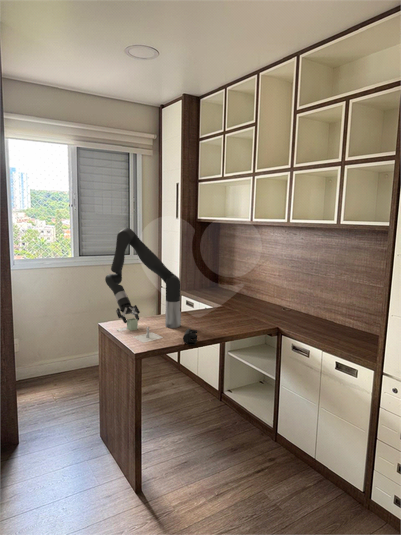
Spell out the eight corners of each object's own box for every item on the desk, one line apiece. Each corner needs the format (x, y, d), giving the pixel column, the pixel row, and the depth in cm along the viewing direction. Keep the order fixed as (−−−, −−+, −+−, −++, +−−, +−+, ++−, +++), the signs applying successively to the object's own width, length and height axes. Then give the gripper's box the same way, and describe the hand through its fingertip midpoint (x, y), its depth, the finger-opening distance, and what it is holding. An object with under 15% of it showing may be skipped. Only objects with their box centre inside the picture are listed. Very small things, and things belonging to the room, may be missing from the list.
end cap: (185, 339, 214) (185, 327, 213) (197, 339, 213) (197, 328, 212) (182, 344, 204) (182, 333, 203) (195, 345, 203) (195, 334, 202)
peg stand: (152, 334, 220) (152, 322, 219) (163, 340, 211) (163, 327, 210) (131, 339, 210) (131, 327, 209) (143, 345, 202) (143, 332, 200)
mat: (136, 326, 235) (136, 325, 235) (148, 331, 225) (148, 330, 225) (116, 330, 226) (116, 329, 226) (128, 336, 216) (128, 335, 215)
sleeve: (133, 328, 229) (133, 317, 228) (137, 330, 225) (137, 319, 224) (126, 330, 225) (126, 319, 224) (130, 331, 222) (130, 320, 221)
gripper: (114, 298, 224) (124, 320, 217) (134, 295, 234) (144, 316, 227) (110, 304, 229) (119, 326, 222) (130, 301, 238) (139, 322, 231)
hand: (132, 321), depth 224 cm, fingers open, 8 cm apart
